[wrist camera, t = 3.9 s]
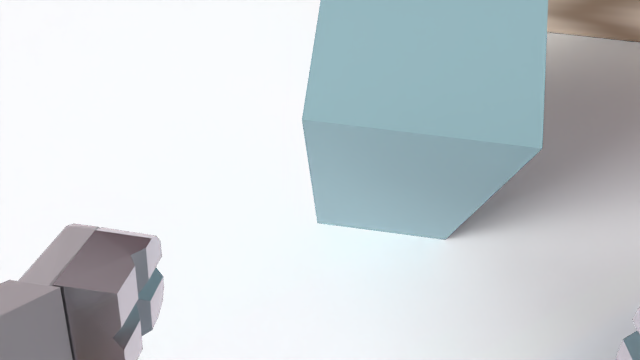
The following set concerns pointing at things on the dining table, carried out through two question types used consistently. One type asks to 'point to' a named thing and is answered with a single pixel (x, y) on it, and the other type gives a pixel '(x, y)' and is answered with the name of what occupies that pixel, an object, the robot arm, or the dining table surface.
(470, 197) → the teal block
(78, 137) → the dining table surface
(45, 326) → the robot arm
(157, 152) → the dining table surface
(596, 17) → the plinth
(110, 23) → the dining table surface
